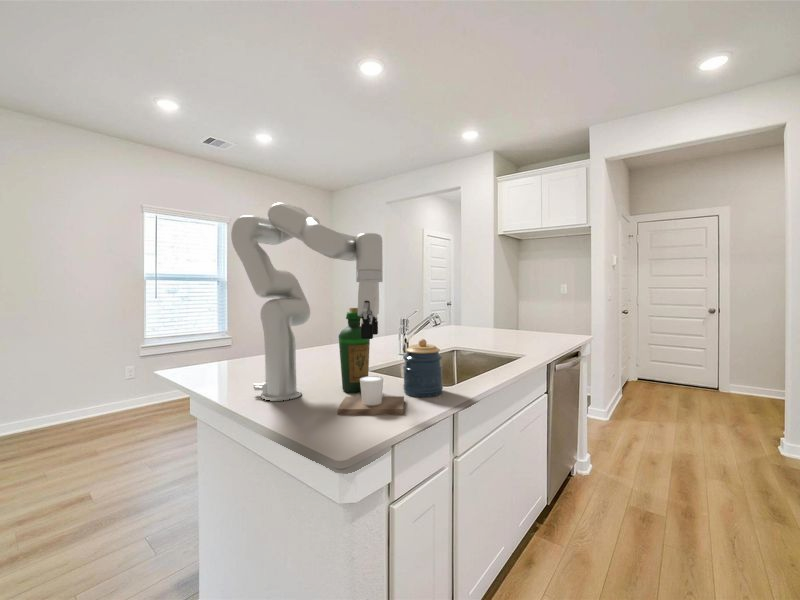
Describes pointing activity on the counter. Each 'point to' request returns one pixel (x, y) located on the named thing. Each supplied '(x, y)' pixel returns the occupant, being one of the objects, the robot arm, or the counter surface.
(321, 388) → the counter surface
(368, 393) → the shot glass
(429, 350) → the canister
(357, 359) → the bottle
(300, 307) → the robot arm
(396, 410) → the walnut board
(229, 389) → the counter surface
